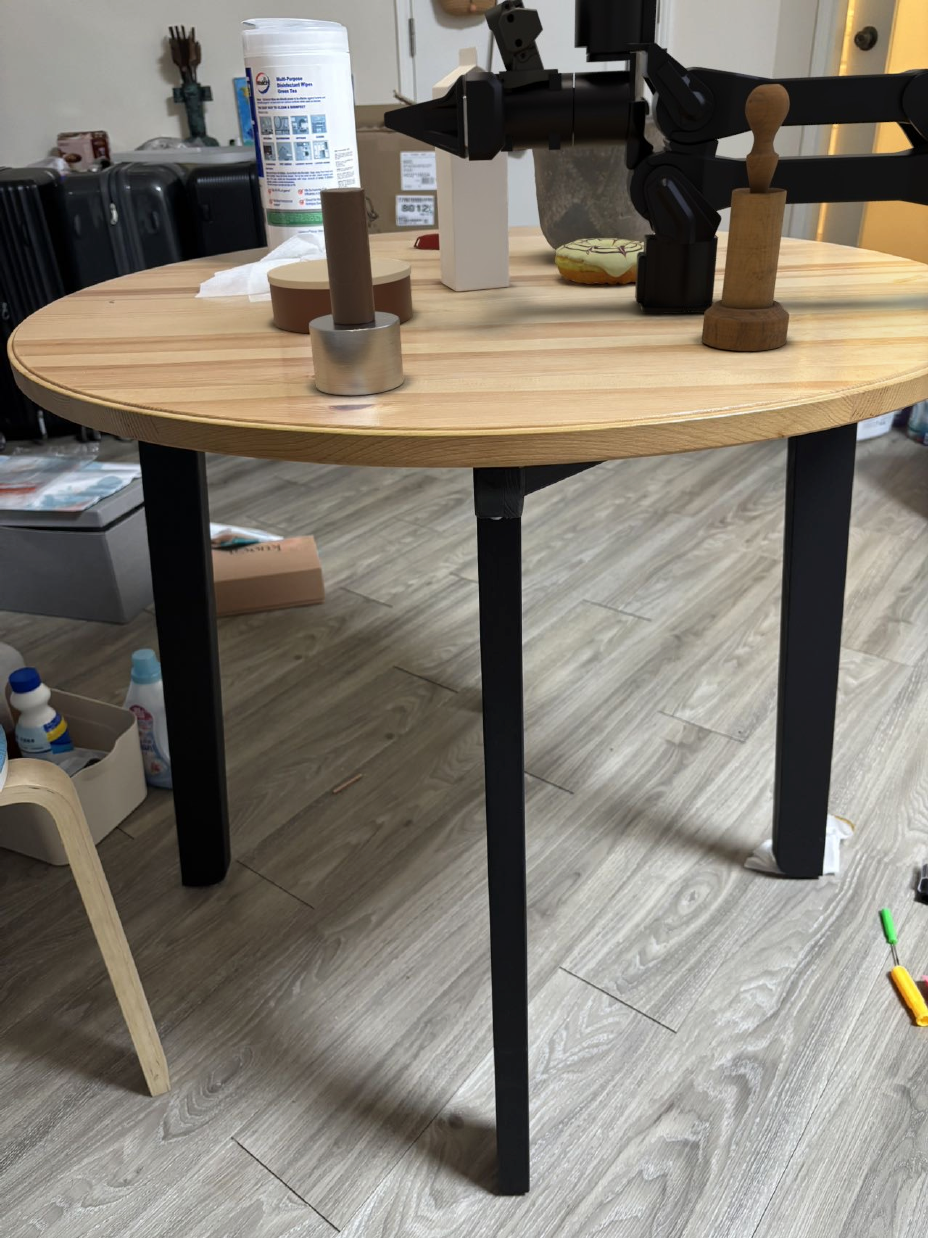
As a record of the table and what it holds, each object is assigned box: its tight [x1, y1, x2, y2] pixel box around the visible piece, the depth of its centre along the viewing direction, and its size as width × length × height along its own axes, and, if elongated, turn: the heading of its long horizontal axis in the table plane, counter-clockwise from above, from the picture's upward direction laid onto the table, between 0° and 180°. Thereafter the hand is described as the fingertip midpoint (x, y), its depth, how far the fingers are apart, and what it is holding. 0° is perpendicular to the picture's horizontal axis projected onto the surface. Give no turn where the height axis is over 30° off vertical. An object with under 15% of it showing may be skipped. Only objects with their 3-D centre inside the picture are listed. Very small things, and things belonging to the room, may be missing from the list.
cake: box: [266, 256, 414, 334], centre depth 90 cm, size 13×13×4 cm
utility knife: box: [413, 233, 440, 250], centre depth 127 cm, size 12×1×2 cm, turn 69°
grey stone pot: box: [531, 114, 665, 251], centre depth 114 cm, size 18×18×15 cm
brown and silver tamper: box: [309, 186, 405, 396], centre depth 67 cm, size 6×6×13 cm
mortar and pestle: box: [701, 84, 790, 352], centre depth 73 cm, size 7×6×18 cm
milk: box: [431, 46, 510, 293], centre depth 99 cm, size 6×6×22 cm
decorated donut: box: [554, 238, 644, 285], centre depth 103 cm, size 10×11×4 cm
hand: (393, 117), depth 84 cm, fingers open, 9 cm apart
